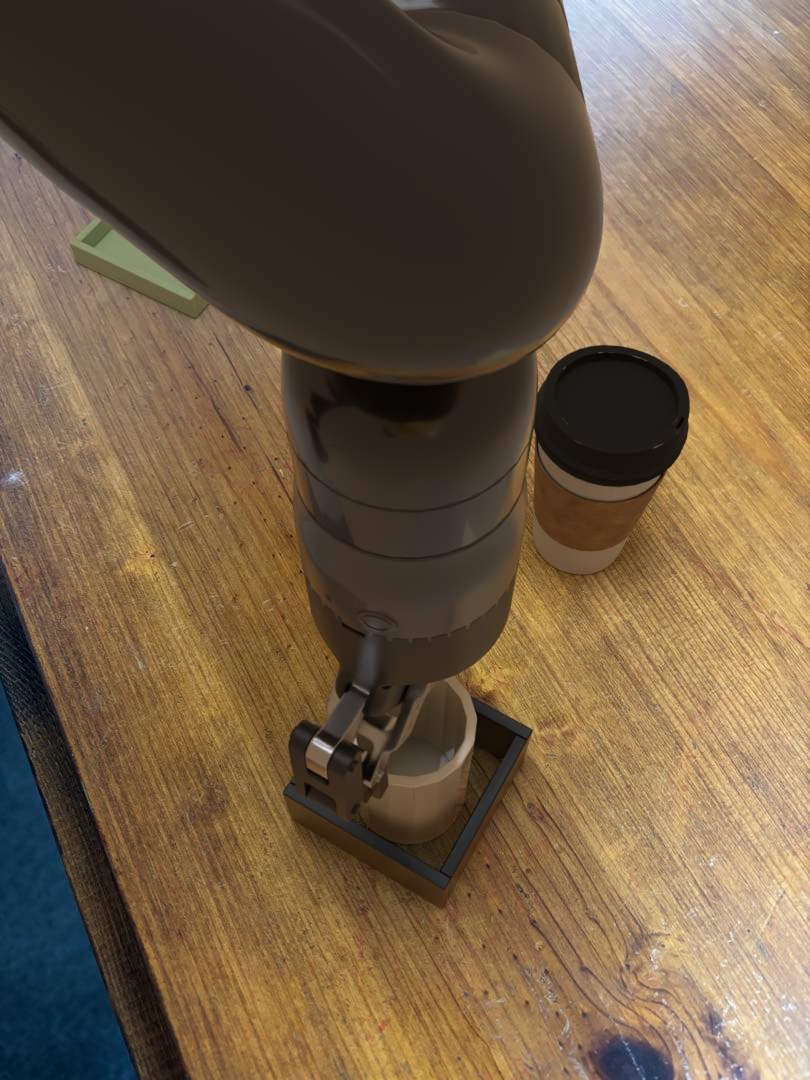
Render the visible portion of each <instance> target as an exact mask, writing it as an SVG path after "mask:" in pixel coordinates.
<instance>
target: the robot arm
mask: <svg viewBox="0 0 810 1080" xmlns="http://www.w3.org/2000/svg"><path fill="white" fill-rule="evenodd" d="M0 139H1V140H2V141H3V142H4V143H6V144H7V146H9V147H10V148H11V149H12V150H14V151H15V152H16V153H17V154H18V155H19V156H20V157H22V159H24V160H25V161H26V162H27V163H28V164H29V165H31V166H32V167H33V168H34V169H35V170H36V171H38V172H39V173H40V174H41V175H42V176H43V177H44V178H46V179H47V180H48V181H49V182H51V184H52V185H54V186H55V187H56V188H58V189H59V190H60V191H61V192H63V193H64V194H65V195H66V196H68V197H69V198H70V199H72V200H73V201H74V202H75V203H77V204H78V205H79V206H81V207H82V208H84V209H85V210H87V212H89V213H91V214H92V215H93V216H95V218H96V217H97V218H99V219H100V220H101V221H103V222H104V223H105V224H107V225H108V226H109V227H111V228H112V229H113V230H114V231H116V232H117V233H118V234H120V235H121V236H122V237H123V238H125V239H126V240H127V241H128V242H130V243H131V244H132V245H134V246H135V247H136V248H137V249H139V250H140V251H141V252H143V253H144V254H145V255H146V256H148V257H149V258H150V259H152V260H153V261H154V262H155V263H157V264H158V265H159V266H161V267H162V268H163V269H164V270H166V271H167V272H168V273H170V274H171V275H172V276H173V277H175V278H176V279H177V280H179V281H180V282H181V283H182V284H184V285H185V286H186V287H188V288H189V289H190V290H192V291H193V292H194V293H195V294H197V295H198V296H199V297H201V298H202V299H203V300H205V301H206V302H207V303H209V304H208V305H210V306H211V307H212V308H213V309H215V310H217V311H218V312H220V313H221V314H222V315H224V316H225V317H227V318H228V319H230V320H231V321H233V322H234V323H236V324H237V325H238V326H240V327H241V328H243V329H245V330H246V331H248V332H249V333H251V334H252V335H254V336H256V337H257V338H259V339H261V340H262V341H264V342H266V343H267V344H270V345H271V346H274V347H275V348H277V349H279V350H280V395H281V397H280V398H281V406H282V407H281V408H282V415H283V416H282V417H283V423H284V426H285V430H286V431H285V432H286V436H287V443H288V448H289V449H288V450H289V454H290V458H291V464H292V473H293V480H292V513H293V522H294V529H295V534H296V539H297V544H298V550H299V555H300V560H301V565H302V570H303V576H304V581H305V582H304V583H305V586H306V592H307V596H308V597H307V598H308V602H309V607H310V612H311V615H312V619H313V622H314V625H315V627H316V629H317V631H318V633H319V635H320V637H321V638H322V640H323V642H324V644H325V645H326V647H327V648H328V649H329V651H330V652H331V654H332V655H333V656H334V658H335V660H336V661H337V662H338V664H339V666H338V670H337V674H336V676H335V680H334V683H333V685H332V689H331V692H330V694H329V698H328V700H327V704H326V707H325V709H326V710H325V713H326V714H327V718H326V719H325V721H324V723H323V724H321V723H319V722H317V721H309V720H307V719H306V718H304V719H302V720H301V721H300V722H299V723H298V724H297V725H296V726H295V727H293V729H292V731H291V732H290V735H289V740H288V744H287V749H288V755H289V761H290V764H291V772H292V777H294V782H295V788H296V792H297V793H299V794H300V795H302V796H304V797H306V798H310V799H311V800H313V801H315V802H316V803H318V804H320V805H321V806H323V807H325V808H326V809H328V810H330V811H331V812H333V813H335V814H337V816H338V817H339V818H341V819H343V820H344V821H346V822H349V821H350V820H351V819H352V820H353V817H356V816H358V814H359V810H360V808H361V805H360V803H361V802H363V803H367V802H368V801H369V799H370V797H371V796H373V797H375V798H377V799H381V797H382V796H383V794H384V792H385V791H386V789H387V787H388V786H389V784H388V769H387V761H388V758H389V756H390V753H391V752H394V751H396V750H397V749H398V748H399V747H400V746H401V745H402V744H403V742H404V741H405V740H406V739H407V738H408V737H409V736H410V734H411V732H412V730H413V727H414V725H415V722H416V719H417V717H418V714H419V712H420V709H421V707H422V704H423V702H424V699H425V697H426V695H427V694H428V693H429V692H430V691H431V690H432V689H433V688H434V687H435V685H436V684H437V683H438V681H441V680H444V679H447V678H450V677H452V676H457V675H459V674H461V673H463V672H465V671H466V670H468V669H470V668H471V667H472V666H475V664H477V663H478V662H479V661H481V660H482V658H484V657H485V656H486V655H487V653H489V652H490V650H491V649H492V648H493V646H494V645H495V644H496V643H497V641H498V640H499V638H500V637H501V635H502V633H503V631H504V629H505V627H506V625H507V622H508V619H509V616H510V613H511V612H510V611H511V607H512V604H513V603H512V601H513V597H514V592H515V591H514V590H515V586H516V580H517V575H518V569H519V563H520V558H521V552H522V548H523V541H524V536H525V530H526V526H527V525H526V524H527V523H526V522H527V515H528V506H529V503H528V483H527V482H528V480H527V471H528V465H529V459H530V454H531V453H530V452H531V446H532V441H533V434H534V424H535V415H536V407H537V398H538V391H539V369H538V355H537V351H539V350H540V349H541V348H542V347H543V346H544V345H545V344H546V343H547V342H549V341H550V340H551V339H552V338H553V337H555V336H556V334H557V333H558V332H559V331H560V329H561V328H562V327H563V326H564V325H565V324H566V322H567V321H569V319H570V318H571V316H572V315H573V313H574V312H575V311H576V309H577V308H578V307H579V305H580V303H581V301H582V300H583V298H584V296H585V294H586V292H587V290H588V288H589V286H590V283H591V280H592V278H593V276H594V273H595V270H596V266H597V263H598V259H599V256H600V251H601V245H602V239H603V234H604V233H603V230H604V184H603V177H602V176H603V175H602V170H601V162H600V157H599V153H598V149H597V145H596V141H595V136H594V131H593V128H592V124H591V120H590V115H589V112H588V109H587V104H586V99H585V95H584V91H583V86H582V82H581V77H580V72H579V69H578V63H577V59H576V54H575V49H574V45H573V41H572V36H571V33H570V26H569V23H568V17H567V14H566V9H565V5H564V1H563V0H0ZM401 703H402V706H401V708H400V711H399V714H398V716H397V717H394V716H392V715H390V714H388V713H386V712H388V711H390V710H391V709H393V708H395V707H396V706H398V705H399V704H401ZM356 733H358V734H360V735H361V736H363V737H365V738H367V739H368V740H370V741H371V742H372V744H373V751H372V753H370V752H368V751H366V750H365V749H363V748H361V747H359V746H358V745H356V744H354V741H355V737H356Z"/></svg>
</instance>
